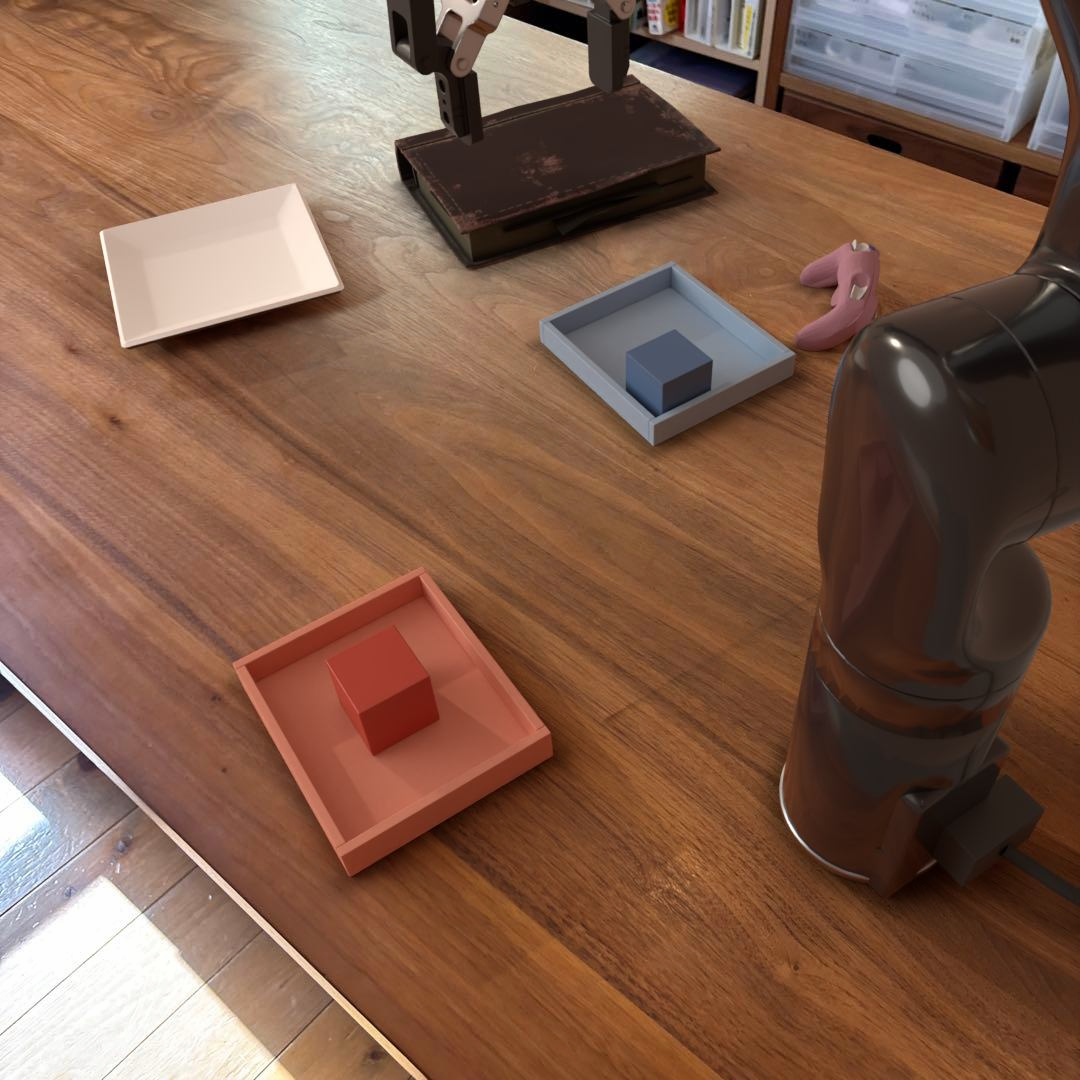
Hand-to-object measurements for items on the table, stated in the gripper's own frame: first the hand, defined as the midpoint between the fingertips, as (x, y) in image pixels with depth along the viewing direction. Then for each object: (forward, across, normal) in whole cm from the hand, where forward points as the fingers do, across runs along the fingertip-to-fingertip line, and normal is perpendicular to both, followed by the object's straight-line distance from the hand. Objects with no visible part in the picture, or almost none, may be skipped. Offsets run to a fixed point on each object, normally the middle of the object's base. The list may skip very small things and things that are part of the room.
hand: (539, 112), depth 58 cm
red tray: (+28, -19, -10) cm, 35 cm away
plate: (+28, -10, +40) cm, 50 cm away
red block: (+28, -19, -10) cm, 35 cm away
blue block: (+28, +11, +2) cm, 30 cm away
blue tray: (+28, +14, +7) cm, 32 cm away
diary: (+28, +21, +33) cm, 48 cm away
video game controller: (+28, +28, +3) cm, 40 cm away
